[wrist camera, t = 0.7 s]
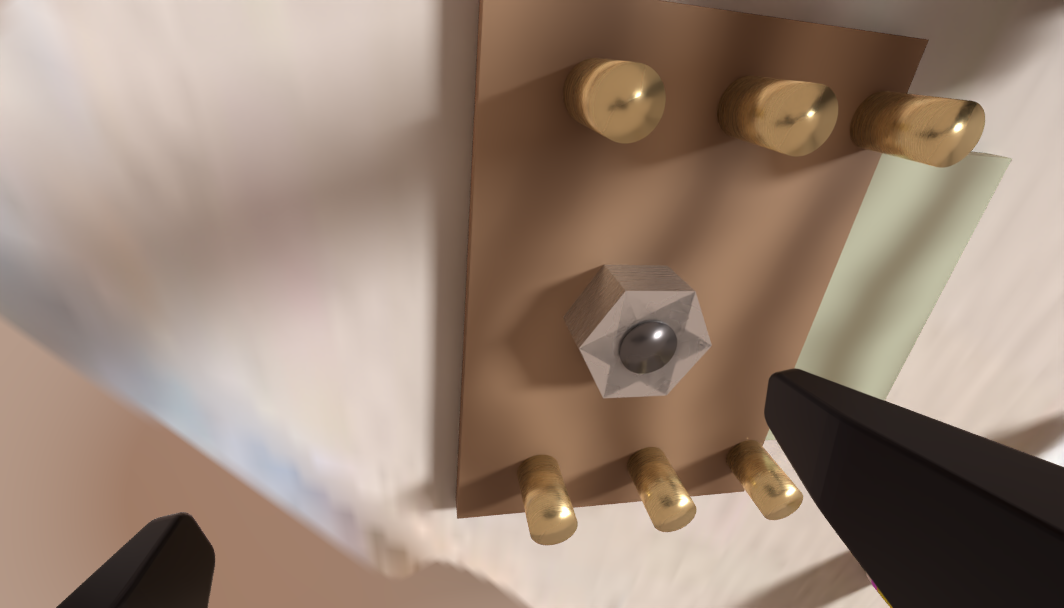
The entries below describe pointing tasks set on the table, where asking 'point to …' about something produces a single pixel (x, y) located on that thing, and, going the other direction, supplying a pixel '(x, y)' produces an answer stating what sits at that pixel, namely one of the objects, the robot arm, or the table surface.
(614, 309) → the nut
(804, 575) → the table surface
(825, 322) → the board
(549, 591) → the table surface
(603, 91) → the spacers
